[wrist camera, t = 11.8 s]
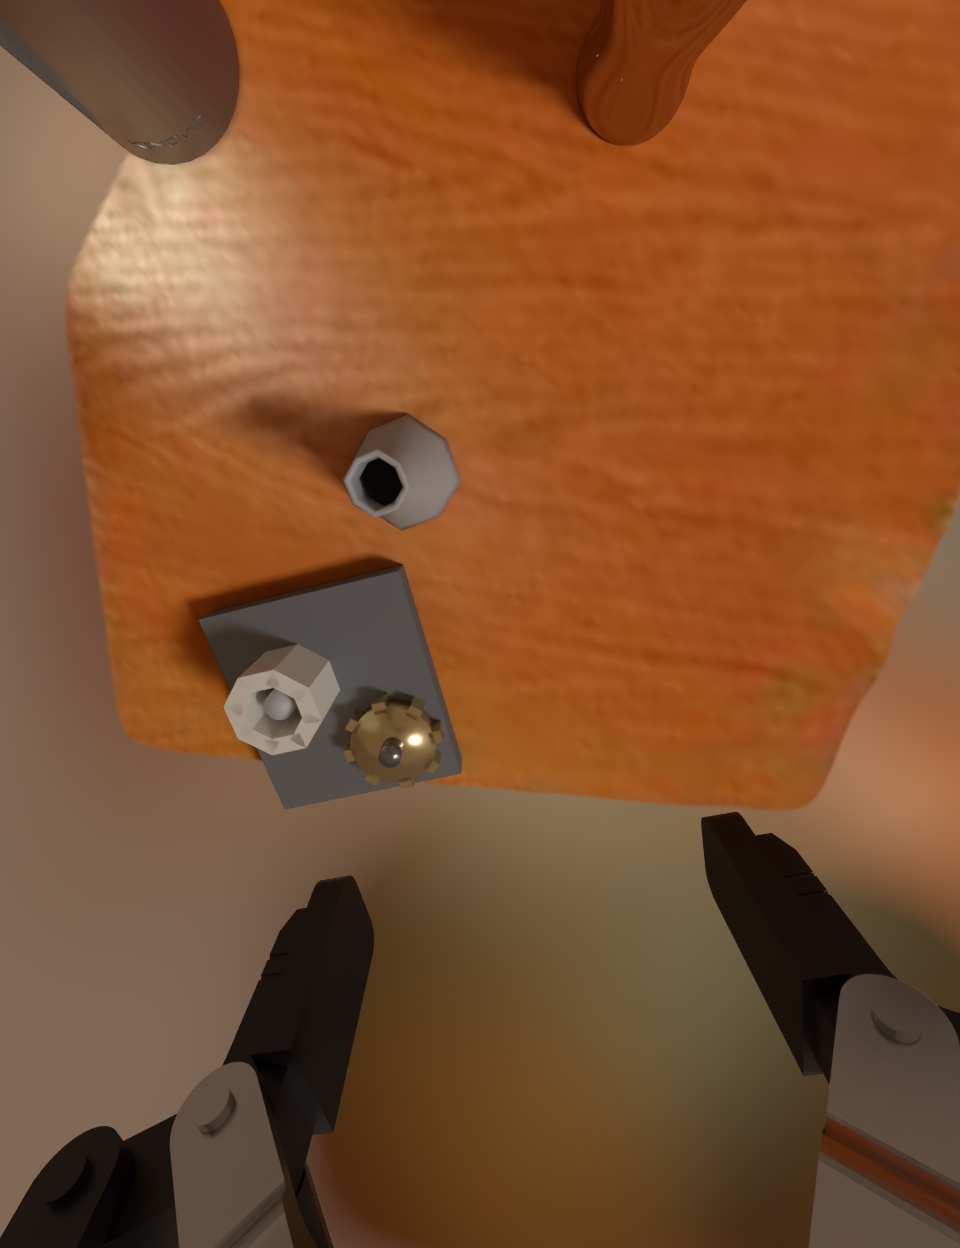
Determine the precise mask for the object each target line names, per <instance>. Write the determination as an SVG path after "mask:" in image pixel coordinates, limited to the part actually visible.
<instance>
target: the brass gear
mask: <svg viewBox="0 0 960 1248" xmlns="http://www.w3.org/2000/svg"><path fill="white" fill-rule="evenodd" d="M424 706H425V702H424V701H422V700H420V699H419V698H417V697H415V696H413V698H412V700H411V701H410V702H409V701H405V700H400V699H390V697H389V694H388V693H383V694H379V695H375V697H374V699H373V702H372V704H371V706H369V707H368V708H367V709H366V710H365V711H364V712H361V711H359V710H357V709H355V711H354V713H353V714H352V716H351V718H350V720H349V722H348V724H347V726H346V728H345V729H346V730H348V731H350V732H352V735H351V739H350V740H348V742H347V745H346V747H345V749H344V751H343V752H344V754H345V757H346V759H347V762H352V761H356V763H357V764H358V766H359V767H360V768H361V769H362V770H363V771H364V772H366V773H367V774H366V777H365V780H366V781H368V782H370V783H372V784H374V785H377V783H378V782H379V780H381V781H385V782H392V783H399V784H400V787H401V789H403V788H408V787H413V786H414V782H415V778H417V777H419V776H420V775H422V774H423V773H424V772H425V771H426V770H427V771H429V772H431V773H433V774H434V772H435V771H436V769H437V768H438V766H439V765H440V760H441V752H439V751H437V750H436V746H437V743H442V742H443V739H444V732H445V731H444V728H443V725H442V721H436V722H433V720H432V718H431V717H430V716H429V714H428V713H427V712H426V711H425V710H424Z"/></svg>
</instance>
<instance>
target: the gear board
mask: <svg viewBox="0 0 960 1248" xmlns="http://www.w3.org/2000/svg"><path fill="white" fill-rule="evenodd" d="M199 622H200V625H201V627H202V629H203V631H204V633H205V636H206V638H207V640H208V642H209V644H210V647H211V649H212V651H213V653H214V655H215V658H216V660H217V662H218V664H219V666H220V668H221V671H222V673H223V675H224V677H225V679H226V682H227V684H228V686H229V688H230V690H231V691H232V689H233V687H234V685H235V683H236V681H237V679H238V677H239V676H240V675H241V674H243V673H244V672H245V671H246V670H247V669H248V668H249V667H250V666H251V665H252V664H253V663H254V662H255V661H257V660H258V659H259V658H260V657H261V656H262V655H263V654H264V653H265V652H266V651H270V650H275V649H279V648H283V647H288V646H292V645H296V644H299V645H301V646H303V647H305V648H307V649H309V650H310V651H312V652H314V653H316V654H318V655H320V656H322V657H324V658H326V659H327V660H329V661H330V664H331V667H332V669H333V672H334V675H335V677H336V680H337V683H338V685H339V688H340V691H339V693H338V695H337V696H336V698H335V700H334V702H333V703H332V705H331V707H330V709H329V710H328V712H327V714H326V716H325V718H324V719H323V721H322V723H321V724H320V726H319V728H318V729H317V731H316V733H315V734H314V736H313V738H312V739H311V741H310V743H309V744H308V746H307V748H304V749H300V750H295V751H290V752H286V753H281V754H276V755H270V754H268V753H266V752H264V751H262V750H260V749H258V748H257V750H258V752H259V754H260V756H261V758H262V761H263V763H264V765H265V767H266V769H267V772H268V774H269V776H270V778H271V780H272V782H273V785H274V787H275V789H276V791H277V794H278V795H279V798H280V800H281V802H282V804H283V807H284V809H289V808H294V807H298V806H304V805H309V804H314V803H319V802H323V801H328V800H333V799H338V798H343V797H347V796H353V795H358V794H363V793H367V792H372V791H377V790H382V789H386V788H392V787H397V786H400V784H399V783H392V782H385V781H381V780H379V782H378V783H377V785H374V784H372V783H370V782H368V781H366V780H365V777H366V774H367V773H366V772H364V771H363V770H362V769H361V768H360V767H359V766H358V764H357V763H356V761H352V762H347V759H346V757H345V754H344V752H343V751H344V749H345V747H346V745H347V742H348V740H350V739H351V735H352V732H350V731H348V730H346V729H345V728H346V726H347V724H348V722H349V720H350V718H351V716H352V714H353V713H354V711H355V709H357V710H359V711H361V712H364V711H365V710H366V709H367V708H368V707H369V706H371V704H372V702H373V699H374V697H375V695H379V694H383V693H388V694H389V697H390V699H400V700H405V701H409V702H410V701H411V700H412V698H413V696H415V697H417V698H419V699H420V700H422V701H424V702H425V706H424V710H425V711H426V712H427V713H428V714H429V716H430V717H431V718H432V720H433V722H436V721H442V725H443V728H444V731H445V732H444V739H443V742H442V743H437V746H436V750H437V751H439V752H441V760H440V765H439V766H438V768H437V769H436V771H435V772H434V774H433V773H431V772H429V771H427V770H426V771H425V772H424V773H423V774H422V775H420V776H419V777H417V778H415V782H414V783H416V782H421V781H426V780H431V779H436V778H441V777H446V776H451V775H456V774H460V773H461V765H462V757H461V754H460V751H459V747H458V744H457V741H456V738H455V734H454V731H453V728H452V724H451V721H450V718H449V715H448V711H447V708H446V705H445V701H444V698H443V695H442V691H441V688H440V685H439V682H438V678H437V675H436V672H435V668H434V665H433V662H432V658H431V655H430V652H429V649H428V645H427V642H426V639H425V635H424V632H423V629H422V625H421V622H420V619H419V616H418V612H417V609H416V606H415V602H414V599H413V596H412V592H411V589H410V586H409V583H408V579H407V576H406V573H405V569H404V566H403V565H399V566H395V567H391V568H387V569H383V570H378V571H374V572H370V573H366V574H362V575H358V576H354V577H350V578H346V579H342V580H338V581H334V582H329V583H325V584H321V585H317V586H313V587H309V588H305V589H301V590H297V591H293V592H289V593H285V594H280V595H276V596H272V597H268V598H264V599H260V600H256V601H252V602H248V603H244V604H240V605H236V606H231V607H227V608H223V609H219V610H215V611H212V612H210V613H209V614H207V615H205V616H204V617H202V618H200V619H199ZM263 707H264V711H265V712H266V714H267V715H268V716H269V717H271V718H273V719H275V720H285V719H287V718H288V717H290V716H291V714H292V713H293V711H294V710H295V709H296V707H297V704H296V701H295V699H294V698H292V697H290V696H288V695H286V694H284V693H283V692H281V691H279V690H277V689H275V688H274V690H273V691H272V692H271V693H270V694H269V695H268V697H267V698H266V699H265V700H264V703H263Z"/></svg>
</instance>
